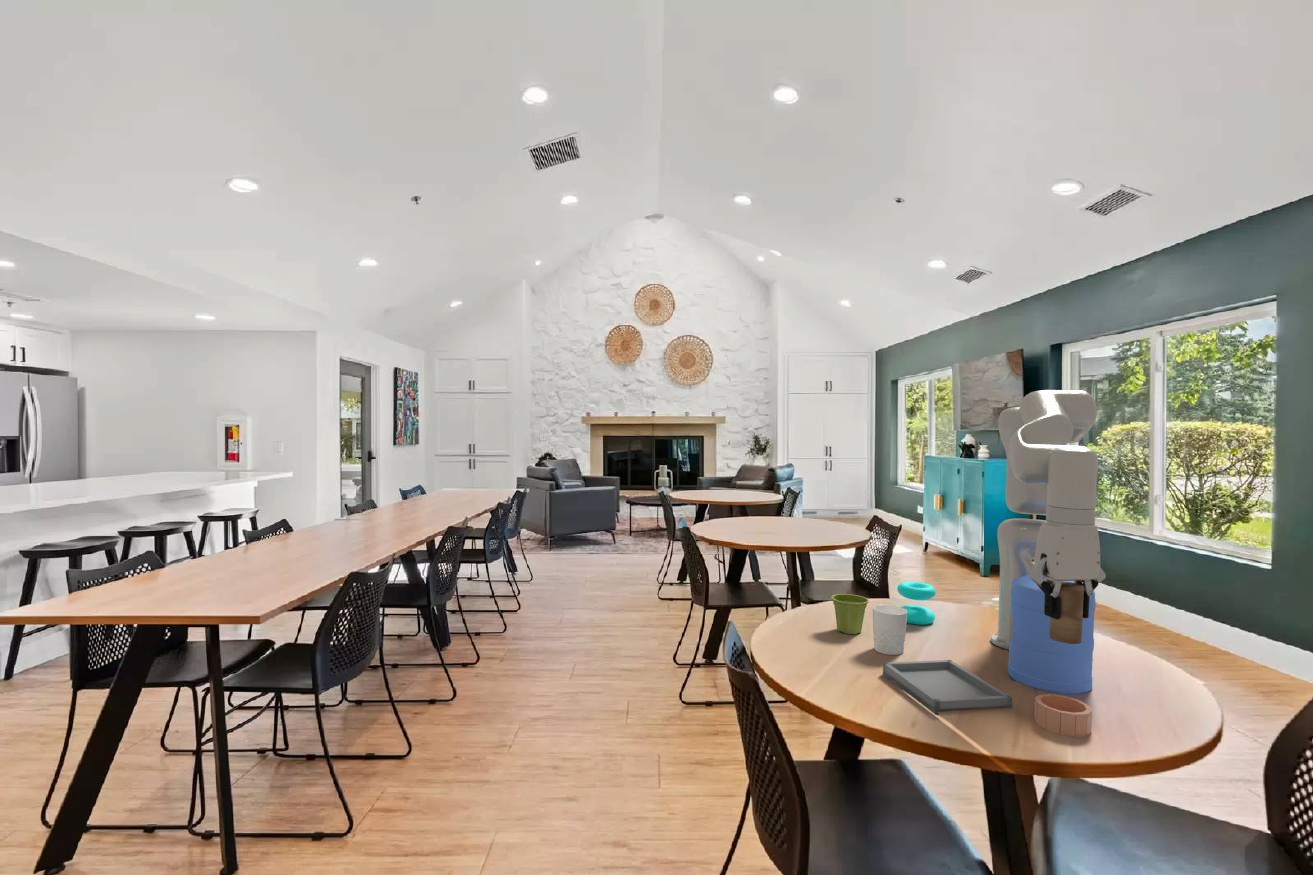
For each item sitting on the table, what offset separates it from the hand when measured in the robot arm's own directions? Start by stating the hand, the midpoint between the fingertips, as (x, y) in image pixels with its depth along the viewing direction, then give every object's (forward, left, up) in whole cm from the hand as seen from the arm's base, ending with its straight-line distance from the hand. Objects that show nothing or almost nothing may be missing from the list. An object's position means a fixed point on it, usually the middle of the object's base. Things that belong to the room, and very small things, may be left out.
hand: (1066, 615), depth 121 cm
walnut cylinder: (0, 0, -4) cm, 4 cm away
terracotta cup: (0, 0, -21) cm, 21 cm away
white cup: (+11, -42, -21) cm, 48 cm away
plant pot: (+14, -57, -21) cm, 62 cm away
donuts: (-9, -64, -21) cm, 68 cm away
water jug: (-14, -20, -21) cm, 32 cm away
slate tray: (+12, -18, -21) cm, 30 cm away
